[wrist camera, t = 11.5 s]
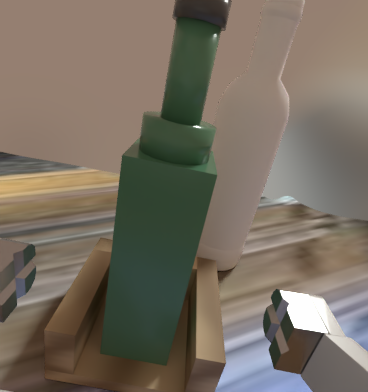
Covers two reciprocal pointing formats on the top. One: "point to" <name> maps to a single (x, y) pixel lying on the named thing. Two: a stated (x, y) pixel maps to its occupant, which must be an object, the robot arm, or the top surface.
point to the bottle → (249, 135)
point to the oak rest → (126, 368)
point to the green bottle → (164, 196)
